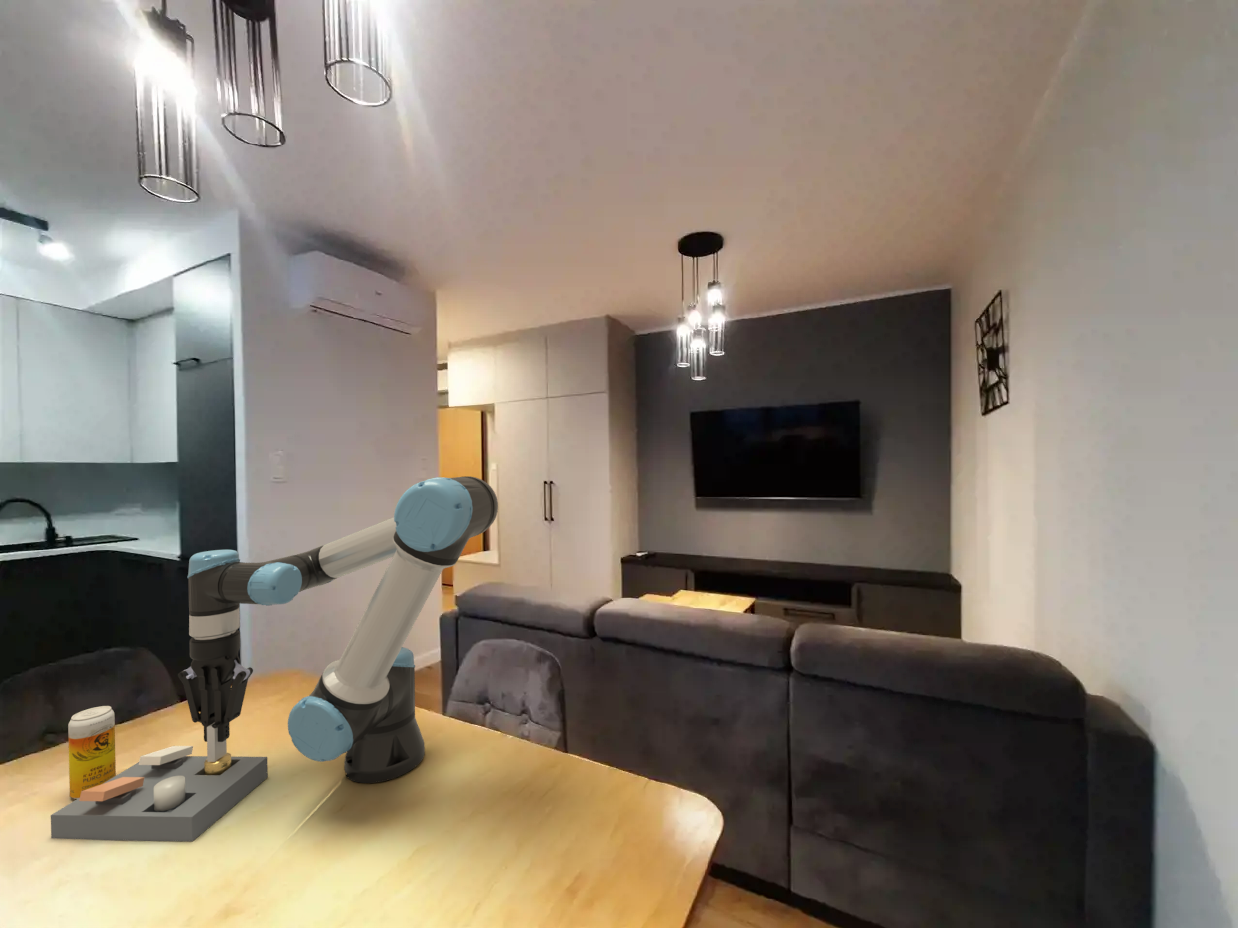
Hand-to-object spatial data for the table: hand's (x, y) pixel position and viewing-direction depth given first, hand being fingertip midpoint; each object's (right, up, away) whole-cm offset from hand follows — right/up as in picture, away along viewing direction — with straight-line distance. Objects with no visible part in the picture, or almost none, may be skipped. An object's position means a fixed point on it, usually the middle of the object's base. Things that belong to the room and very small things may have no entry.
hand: (217, 757), depth 98 cm
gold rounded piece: (0, -4, 0) cm, 4 cm away
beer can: (-23, -6, -1) cm, 24 cm away
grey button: (0, -2, -10) cm, 10 cm away
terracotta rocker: (-10, 0, -10) cm, 14 cm away
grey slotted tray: (-5, -6, -5) cm, 9 cm away
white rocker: (-10, 0, 0) cm, 10 cm away
